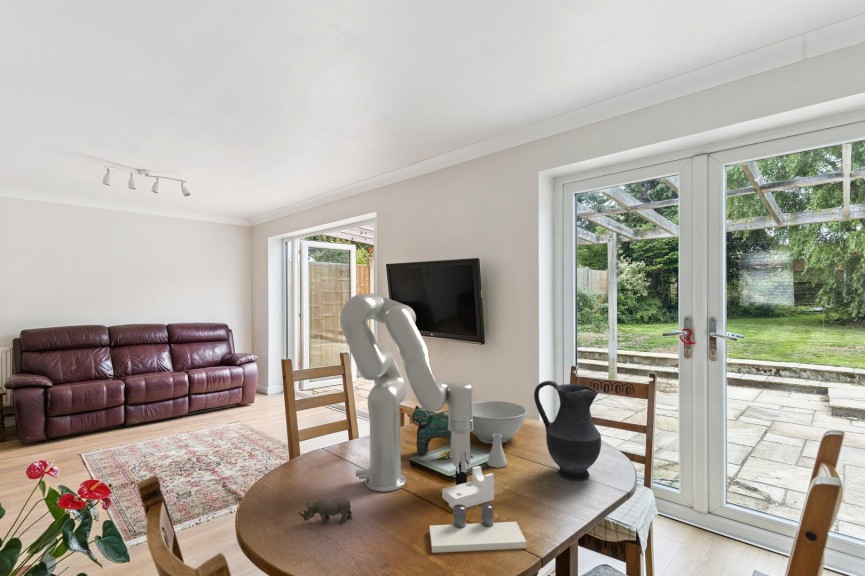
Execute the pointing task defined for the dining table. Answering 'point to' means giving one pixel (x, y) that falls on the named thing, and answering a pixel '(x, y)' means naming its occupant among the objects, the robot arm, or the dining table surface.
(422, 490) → the dining table surface
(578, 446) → the pitcher
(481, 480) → the bracket
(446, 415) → the cat figurine
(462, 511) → the peg
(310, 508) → the rhino figurine
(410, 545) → the dining table surface
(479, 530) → the board
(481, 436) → the decorative bowl
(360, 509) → the dining table surface
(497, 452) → the flask
